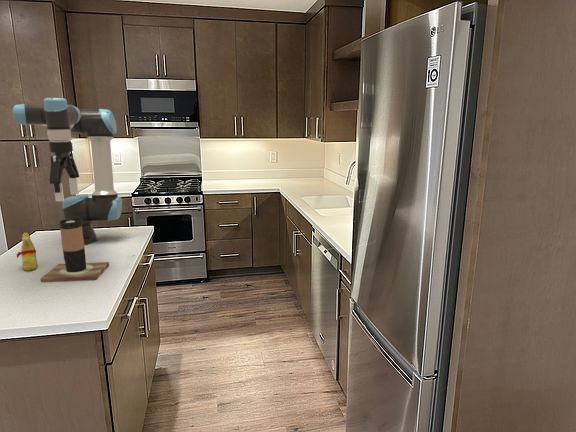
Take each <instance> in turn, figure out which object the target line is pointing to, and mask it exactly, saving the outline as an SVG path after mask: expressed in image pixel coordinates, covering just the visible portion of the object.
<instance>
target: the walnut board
mask: <svg viewBox="0 0 576 432" xmlns="http://www.w3.org/2000/svg"><path fill="white" fill-rule="evenodd" d="M109 266H110V262H109V261H104V262H103V261H100V262H99V261H98V262H86V269H85V270H83V271H79V272H67V271H66V266H65V263H58V264H57V265H55V266H54V267H53V268H52V269H51V270H49V271H47V273H45V274H44V275H43V276H42V277H40V283H53V282H54V283H55V282H56V283H57V282H58V283H59V282H76V281H80V282H82V281H96V280H98V279H99V277H101V275H102V274H103V273H104V272H105V271H106V270H107V268H108V267H109Z"/></svg>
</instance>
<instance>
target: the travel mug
mask: <svg viewBox="0 0 576 432" xmlns="http://www.w3.org/2000/svg"><path fill="white" fill-rule="evenodd" d="M59 230H60V231H59V232H60V239H61V247H62V254H63V258H64V264H65V266H66V271H67V272H79V271H83V270H85V269H86V263H87V261H86V258H87V257H86V249H85V248H86V247H85V245H84V239H83V232H82V224H81V219H77V218H74V219H72V220H64V219H62V220H59Z"/></svg>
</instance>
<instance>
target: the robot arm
mask: <svg viewBox="0 0 576 432" xmlns="http://www.w3.org/2000/svg"><path fill="white" fill-rule="evenodd" d="M12 117H13V119H14V122H15V123H16V124H18V125H24V126H27V125H29V126H31V125H33V126H43V127H46V130H47V132H46V134H47V139H48V141H49V143H48V145H49V146H48V147H49V151H50V153H54V155H50V170H49V171H50V172H49V184H50V185H53V193H54V199H55V202H62V211H63V220H72V219H74V218H77V219H81V224H82V232H83V239H84V246H85V245H90V244H93V243H95V242H96V241H98V237H97V236H98V235H97V234H96V232H95V230H94V228H93V225H92V222H102V221H107V222H109V221H110V222H111V221H118V219H119V218H120V217H121V214H122V212H123V201H122V197H120V196H119V195H118V192H117V191H116V190H115V188H114V175H113V172H114V171H113V162H112V161H113V160H112V147H111V141H112V140H113V139H114V135H115V134H117V132H118V131H117V130H118V127H117V123H116V122H117V121H116V119H115V116H114V114H113V111H111V110H110V109H106V108H78V107H77V106H74V105H73V104H68V101H67V99H66V98H63V97H45V98H44V99H43V104H26V103H23V104H22V103H21V104H15V105H14V106H13V107H12ZM72 134H79V135H85V134H86V137H87V139H88V140H89V141H90V145H91V159H92V171H93V182H94V191H93V192H92V194H91V197H89V195H88V194H79V193H80V192H79V186H78V178H80V173H79V170H78V167H77V165H76V162H75V159H74V153H73V151H74V147H73V142H72ZM64 169H65V171H66V173H67V175H68V176H69V178H68V182H69V184H68V185H69V190H70V195H73V196H68V197H64V188H63V187H64V186H63V183H62V177H63V173H64Z"/></svg>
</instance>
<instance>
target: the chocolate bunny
mask: <svg viewBox="0 0 576 432" xmlns="http://www.w3.org/2000/svg"><path fill="white" fill-rule="evenodd" d="M21 241H22V245H21V251H17V253H16V258H19V257H20V256H21V261H22V266H23V267H22V268H23V270H24V271H26V272H27V271H28V272H31V271H34V270H36V267H37V264H38V261H37V260H38V259H37V249H36V248H35V247H36V246H35V245H34V242H33V241H32V240H31V236H30V235H29V233H28V232H24V233H23V234H22V237H21Z"/></svg>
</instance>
